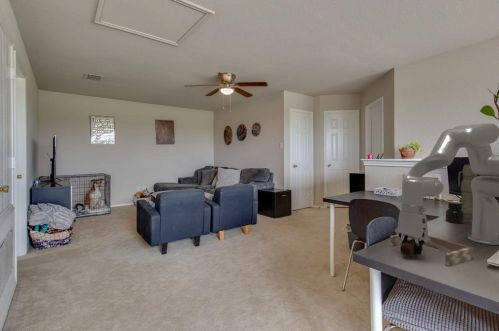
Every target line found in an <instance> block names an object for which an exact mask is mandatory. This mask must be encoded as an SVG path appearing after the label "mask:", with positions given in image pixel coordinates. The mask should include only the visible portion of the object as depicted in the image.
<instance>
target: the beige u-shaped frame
mask: <svg viewBox="0 0 499 331" xmlns="http://www.w3.org/2000/svg"><path fill="white" fill-rule="evenodd" d="M428 236H429V238H430V239H431V241H429V242H426V243H424V244H423V245H424V246H428V247H431V248H434V249H437V250H440V251H444V252H445V256H444V265H445V266H446V267H452V266H454V265H458V264H461V263H463V262H467V261H470V260H473V259H474V247H472V246H468V245H465V244H461V243H458V242H453V241H449V240H447V239H443V238H440V237H436V236H432V235H428ZM411 239H415V238H414V237H410V236H408V239H407V240H408V241H409V240H411ZM422 240H424V237H422ZM400 244H401V245H402V241H401V238H400V237H399V236H398V234H394V235H393V234H392V235H390V236H389V246H390V247H394V246H401V245H400Z"/></svg>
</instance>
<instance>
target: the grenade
mask: <svg viewBox="0 0 499 331" xmlns="http://www.w3.org/2000/svg"><path fill="white" fill-rule="evenodd" d="M457 174H458V175H457V176H458V180H457V181H458V182H457V186H458V187H460V191H461V196H460V197H461V199H460V200H461V202H460V203H462V211H463V212H464V219H471V220H472V215H473V194H472V189H471V181H472V180H473V179H474V178H475V177H478V176H483V175H478V174H475V173H473V171H472V169H471V166H470V163H469V164H464V165H463V168H462V170H461V171H459V172H458V173H457ZM461 174H462V179H461Z"/></svg>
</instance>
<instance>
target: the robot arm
mask: <svg viewBox="0 0 499 331" xmlns="http://www.w3.org/2000/svg"><path fill="white" fill-rule="evenodd" d="M498 139H499V126H498V125H496V124H495V123H492V122H491V123H479V124H478V123H477V124H476V123H475V124H465V125H458V126H455V127H452V128H448V129H445V130H444V131H443V132H441V134H440V135H439V137H438V139H437V141H436V142H435V144H434V147H433V148H432V150H431V152H430V154H429V155H428V156H426V157H424V158H422V159H421V160H420V161H419V162H417V163H415V164H414V165H413V166H412V167H411V168H410V169H409V171H408V173H406V174H407V175H406V177H405V178H404V179H403V180H402V182H401V188H402V189H401V210H399V214H398V219H397V220H398V221H397V222H398V223H397V227H396V228H395V229H394V232H395V233H396V235H398V236H399V237H400V238H401V241H402V243H404V242H406V241H408V240H407V239H408V236H410V237H414V238H415V242H416V245H415V246H414V254H415V255H414V256H418V255H419V256H420V255H421V254H422V252H421V248H422V245H424V243H426V242H429V241H431V239H430V238H429V236H430V235H429V236H428V234H429V231H428V230H429V228H428V219H427V215H426V213H425V212H427V208H425V207H424V197H437V196H439V195H441V194H442V193H443V190H444V184H443V183H442V182H441V180H439V179H437V178H434V177H433V178H432V177H426V176H425V175H427V173H430V172H432V171H436V170H439V169H442V168H446V167H448V166H450V165H451V164H452V163H453V162H454V160H455V158H456V155H457V153H458V152H459V150H460V149H461V148H464V149H465V151H466V153H467V156H468V161H469V164H470V166H471V169H472V171H473V173H475V174H478V177H475V178H474V179H473V180H472V181H471V189H472V194H473V215H472V219H471V220H472V221H471V223H472V224H471V234H469V235H467V239H468V240H469V241H472V242H475V243H479V244H484V245H491V246H499V202H498V200H497V199H496V198H499V154H494V153H493V151H492V150H493V149H492V147H491V144H493V143H495V142H497V140H498ZM480 175H482V176H480ZM424 176H425V177H424ZM495 197H496V198H495ZM422 237H424V240H422Z"/></svg>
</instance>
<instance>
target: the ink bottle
mask: <svg viewBox="0 0 499 331" xmlns="http://www.w3.org/2000/svg"><path fill="white" fill-rule="evenodd" d="M447 208H448V209H446V210H445V221H446V222H447V223H452V224H464V223H465V218H464V212H463V211H462V203H461V202H459V201H448V202H447Z"/></svg>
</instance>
